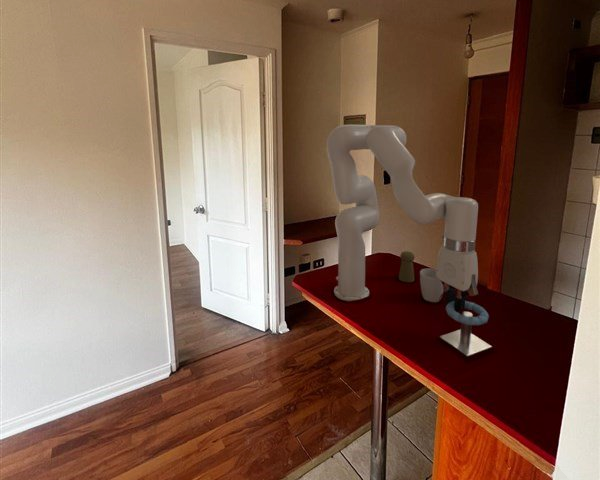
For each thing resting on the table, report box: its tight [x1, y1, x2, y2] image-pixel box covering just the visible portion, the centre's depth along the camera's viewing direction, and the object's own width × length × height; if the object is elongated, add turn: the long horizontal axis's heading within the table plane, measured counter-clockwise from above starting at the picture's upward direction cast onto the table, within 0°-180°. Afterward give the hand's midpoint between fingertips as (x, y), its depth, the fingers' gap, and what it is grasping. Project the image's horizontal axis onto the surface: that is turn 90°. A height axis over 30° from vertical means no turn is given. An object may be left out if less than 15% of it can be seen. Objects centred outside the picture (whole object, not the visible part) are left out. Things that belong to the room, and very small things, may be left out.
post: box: [439, 310, 493, 358], centre depth 87 cm, size 9×9×9 cm
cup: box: [419, 267, 445, 303], centre depth 110 cm, size 8×8×10 cm
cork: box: [398, 250, 416, 283], centre depth 127 cm, size 6×6×11 cm
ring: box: [445, 300, 490, 326], centre depth 86 cm, size 10×10×2 cm
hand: (454, 307), depth 90 cm, fingers closed on ring, 2 cm apart
